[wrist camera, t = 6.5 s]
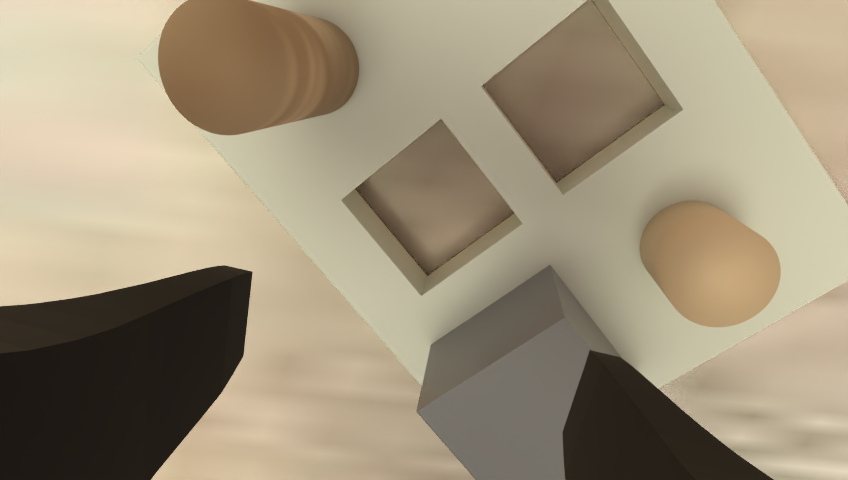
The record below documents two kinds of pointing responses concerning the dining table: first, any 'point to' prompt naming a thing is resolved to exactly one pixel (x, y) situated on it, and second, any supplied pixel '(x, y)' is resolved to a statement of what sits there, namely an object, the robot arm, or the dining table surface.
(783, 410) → the dining table surface
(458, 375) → the grey chamfered cube
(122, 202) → the dining table surface
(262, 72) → the pin
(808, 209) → the pin board
